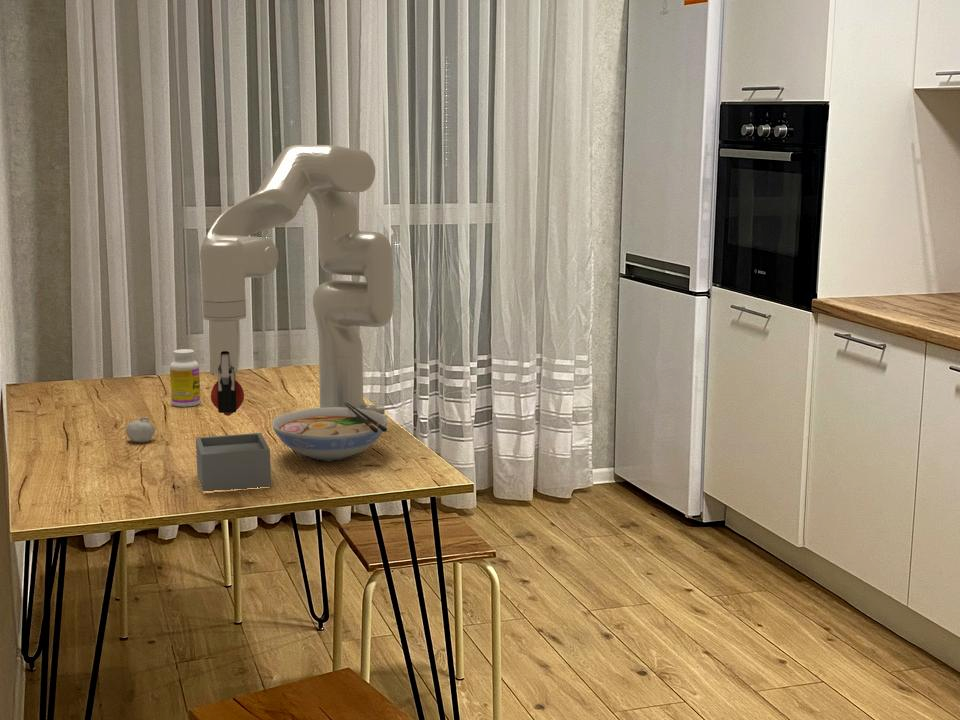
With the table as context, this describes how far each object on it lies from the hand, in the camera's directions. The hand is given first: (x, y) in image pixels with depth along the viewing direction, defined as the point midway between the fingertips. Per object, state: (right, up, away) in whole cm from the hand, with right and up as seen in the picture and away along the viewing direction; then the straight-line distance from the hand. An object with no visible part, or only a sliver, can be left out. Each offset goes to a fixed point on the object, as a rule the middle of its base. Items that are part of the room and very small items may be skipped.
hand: (228, 407), depth 204 cm
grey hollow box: (+1, -14, +2) cm, 14 cm away
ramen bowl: (+16, -11, +19) cm, 27 cm away
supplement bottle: (-24, -2, +61) cm, 66 cm away
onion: (0, -2, 0) cm, 2 cm away
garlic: (-24, -8, +29) cm, 39 cm away
